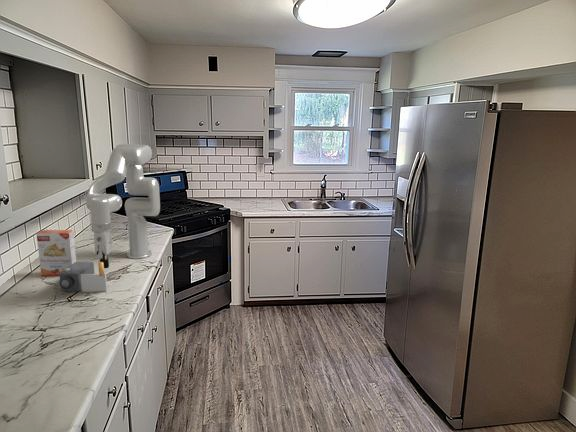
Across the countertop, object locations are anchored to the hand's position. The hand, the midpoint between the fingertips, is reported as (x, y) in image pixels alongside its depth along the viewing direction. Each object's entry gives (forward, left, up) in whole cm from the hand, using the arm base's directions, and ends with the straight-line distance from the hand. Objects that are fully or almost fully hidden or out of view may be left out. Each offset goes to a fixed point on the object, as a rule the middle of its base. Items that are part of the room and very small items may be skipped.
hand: (104, 267), depth 175 cm
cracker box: (-14, -28, -10) cm, 33 cm away
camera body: (-1, -13, -9) cm, 16 cm away
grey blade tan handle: (+5, -4, -9) cm, 11 cm away
